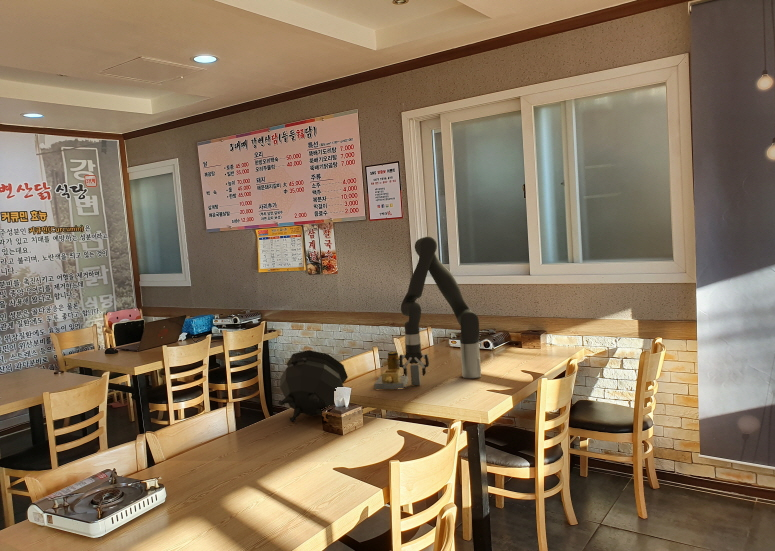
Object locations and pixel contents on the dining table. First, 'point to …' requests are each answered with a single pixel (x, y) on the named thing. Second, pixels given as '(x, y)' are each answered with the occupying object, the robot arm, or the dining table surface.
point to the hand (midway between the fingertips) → (414, 375)
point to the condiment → (393, 361)
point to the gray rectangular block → (415, 374)
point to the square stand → (391, 380)
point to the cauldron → (311, 382)
